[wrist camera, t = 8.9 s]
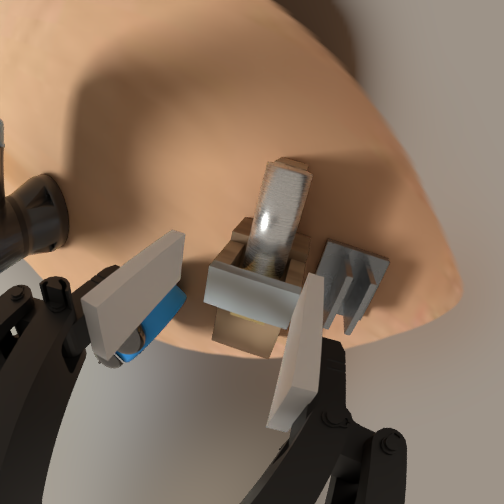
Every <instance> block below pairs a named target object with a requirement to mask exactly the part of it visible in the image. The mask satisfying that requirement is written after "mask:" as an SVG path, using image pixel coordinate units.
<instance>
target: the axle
mask: <svg viewBox="0 0 504 504" xmlns="http://www.w3.org/2000/svg"><path fill="white" fill-rule="evenodd" d="M312 178H313V174H311V173H310V172H307V171H305V170H303V169H300V168H297V167H294V166H290V165H286V164H282V163H276V162H267V165H266V169H265V173H264V177H263V181H262V185H261V189H260V194H259V198H258V202H257V206H256V210H255V214H254V218H253V223H252V227H251V231H250V235H249V239H248V243H247V248H246V252H245V256H244V260H243V264H242V268H243V269H244V270H247V271H251V272H254V273H257V274H260V275H263V276H266V277H270V278H273V279H276V280H279V279H280V278H281V277H282V275H283V272H284V269H285V266H286V263H287V260H288V256H289V253H290V250H291V247H292V244H293V241H294V238H295V234H296V231H297V228H298V225H299V221H300V218H301V215H302V211H303V208H304V205H305V201H306V198H307V195H308V191H309V188H310V185H311V181H312Z"/></svg>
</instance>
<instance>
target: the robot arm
mask: <svg viewBox="0 0 504 504" xmlns="http://www.w3.org/2000/svg"><path fill="white" fill-rule="evenodd" d="M4 148H5V144H4V124H3V121H2V120H1V119H0V273H1V272H3V271H4V270H6V269H7V268H9V267H10V266H12V265H14V264H15V263H16V262H18V261H20V260H21V259H23V258H25V257H26V256H28V255H33V254H40V253H47V252H52V251H54V250H56V249H58V248H60V247H61V246H63V244H64V243H65V241H66V239H67V236H68V228H69V223H68V213H67V208H66V204H65V201H64V198H63V195H62V193H61V191H60V189H59V187H58V185H57V184H56V182H55V181H54V180H53V179H52V178H51V177H49V176H48V175H45V174H41V175H38V176H35V177H32V178H30V179H29V180H28V181H26V182H25V183H24V184H23V185H21V186H20V187H19V188H18V189H17V190H16V191H14V192H13V193H12V194H11V195H9V196H7V197H5V191H4V166H3V155H4ZM184 240H185V234H184V233H181V232H178V231H175V230H171V231H169V232H168V233H167V234H165V235H164V236H162V237H161V238H159V239H158V240H157V241H155V242H154V243H152V244H151V245H150V246H148V247H147V248H146V249H144V250H143V251H141V252H140V253H139V254H137V255H136V256H135V257H133V258H132V259H131V260H129V261H128V262H127V263H125V264H124V265H123V266H121V267H119V266H117V265H113V266H110V267H107V268H105V269H103V270H102V271H101V272H99V273H98V274H97V276H96V275H95V276H94V277H93V278H91V280H89V281H87V282H86V283H85V284H83V285H82V286H81V287H79V288H78V289H77V290H76V291H74V292H73V293H72V294H71V289H70V283H69V282H68V280H67V279H65V278H63V277H57V276H55V277H49V278H47V279H45V280H43V281H42V282H41V283H40V289H41V292H42V296H43V300H40V299H36V298H33V296H32V292H31V289H30V288H29V287H28V286H25V285H17V286H13V287H12V288H10V289H9V290H7V291H6V292H5V293H4V294H2V295H1V296H0V504H42V496H43V491H44V486H45V481H46V476H47V472H48V468H49V464H50V460H51V456H52V452H53V448H54V445H55V441H56V438H57V434H58V431H59V428H60V425H61V422H62V419H63V416H64V413H65V410H66V407H67V404H68V401H69V399H70V396H71V393H72V391H73V388H74V385H75V383H76V380H77V378H78V375H79V373H80V370H81V368H82V365H83V363H84V361H85V358H86V349H85V348H86V347H87V346H88V345H89V344H90V343H91V346H92V349H93V352H94V353H95V354H97V355H99V356H100V357H102V358H103V359H105V360H107V361H108V360H109V359H110V358H111V357H112V356H113V355H114V353H115V352H116V351H117V350H118V349H119V348H120V346H121V345H122V344H123V343H124V342H125V341H126V340H127V338H128V337H129V336H130V335H131V334H132V333H133V332H134V330H135V329H136V328H137V327H138V326H139V325H140V324H141V322H142V321H143V320H144V319H145V318H146V317H147V316H148V315H149V313H150V312H151V311H152V310H153V309H154V308H155V307H156V306H157V304H158V303H159V302H160V301H161V300H162V299H163V298H164V297H165V296H166V295H167V293H168V292H169V291H170V290H171V289H172V288H173V287H174V286H175V285H176V284H177V283H178V281H179V280H180V279H181V268H182V259H183V249H184ZM323 304H324V277H322V276H318V275H315V274H312V273H308V276H307V279H306V281H305V284H304V286H303V289H302V292H301V294H300V297H299V299H298V302H297V305H296V307H295V310H294V312H293V315H292V317H291V322H290V327H289V332H288V337H287V342H286V346H285V351H284V355H283V360H282V365H281V369H280V373H279V377H278V381H277V386H276V390H275V394H274V398H273V403H272V406H271V410H270V414H269V418H268V421H267V425H266V427H267V428H271V429H275V430H280V431H283V432H288V430H289V429H290V428H291V427H292V428H291V433H290V438H289V439H288V440H287V441H286V442H285V443H284V444H283V446H282V447H281V448H280V449H279V450H280V451H279V453H278V454H277V456H276V457H275V459H274V460H273V461H272V463H271V464H270V465H269V467H268V468H267V470H266V471H265V472H264V474H263V475H262V477H261V478H260V479H259V480H258V482H257V483H256V484H255V485H254V487H253V488H252V489H251V491H250V492H249V493H248V494H247V496H246V497H245V498H244V499H243V501H242V502H241V503H240V504H315V502H316V501H317V499H318V497H319V495H320V493H321V492H322V490H323V488H324V486H325V484H326V482H327V480H328V478H329V477H330V475H331V479H330V484H329V488H328V492H327V497H326V501H325V504H404V503H405V490H406V471H407V445H406V440H405V439H404V437H403V435H402V434H401V433H400V432H398V431H397V430H395V429H392V428H383V429H381V430H379V431H377V432H376V433H375V432H373V431H371V430H369V429H367V428H365V427H362V426H360V425H359V424H357V423H356V422H354V421H353V419H352V416H351V413H350V412H349V411H348V409H347V408H346V374H345V371H346V365H345V351H344V349H343V347H342V345H341V343H340V342H339V341H335V340H331V339H328V338H324V337H322V329H323ZM14 326H15V329H16V331H17V333H18V334H16V335H15V336H13V335H12V333H11V331H10V330H11V329H12V327H14Z"/></svg>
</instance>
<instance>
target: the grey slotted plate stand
mask: <svg viewBox="0 0 504 504" xmlns="http://www.w3.org/2000/svg"><path fill="white" fill-rule="evenodd" d="M389 263H390V261H389V259H388V258H385V257H383V256H380V255H377V254H374V253H371V252H368V251H365V250H362V249H359V248H356V247H353V246H350V245H347V244H344V243H341V242H338V241H335V240H332V239H329V238H328V239H327V242H326V245H325V248H324V251H323V253H322V256H321V259H320V261H319V264H318V267H317V269H316V272H315V275H318V276H322V277H324V304H323V328H325V329H329V327H330V325H331V323H332V321H333V319H334V317H335V315H336V314H339V315H343V318H344V334H346V335H350V334H351V333H352V331H353V329H354V327H355V326H356V324H357V322H358V320H361V318H362V316H363V315H364V313H365V311H366V309H367V307H368V305H369V303H370V301H371V300H372V298H373V296H374V294H375V292H376V290H377V288H378V286H379V284H380V282H381V280H382V278H383V276H384V273H385V271H386V269H387V267H388V265H389Z"/></svg>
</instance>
